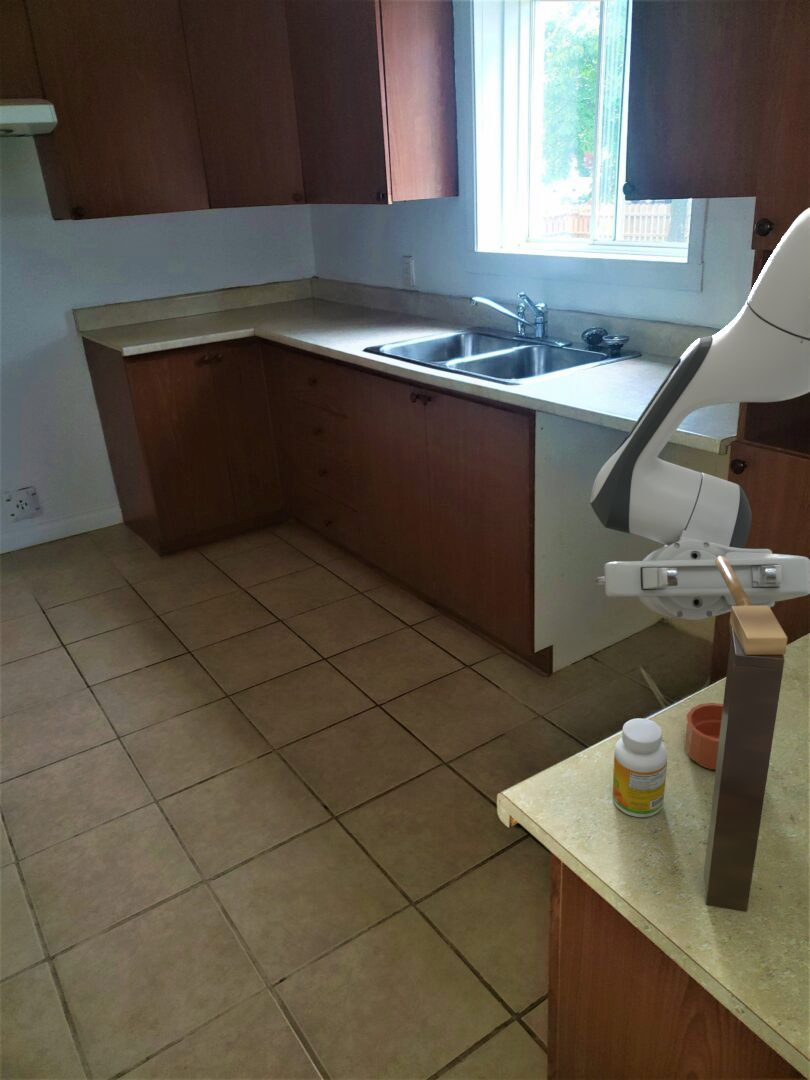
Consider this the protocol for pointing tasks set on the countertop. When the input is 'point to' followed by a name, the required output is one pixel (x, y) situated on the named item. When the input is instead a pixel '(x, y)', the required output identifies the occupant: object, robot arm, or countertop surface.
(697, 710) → the bowl
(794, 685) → the countertop surface
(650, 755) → the supplement bottle
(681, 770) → the countertop surface
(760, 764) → the tall brown pillar
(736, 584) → the tan wooden mallet
